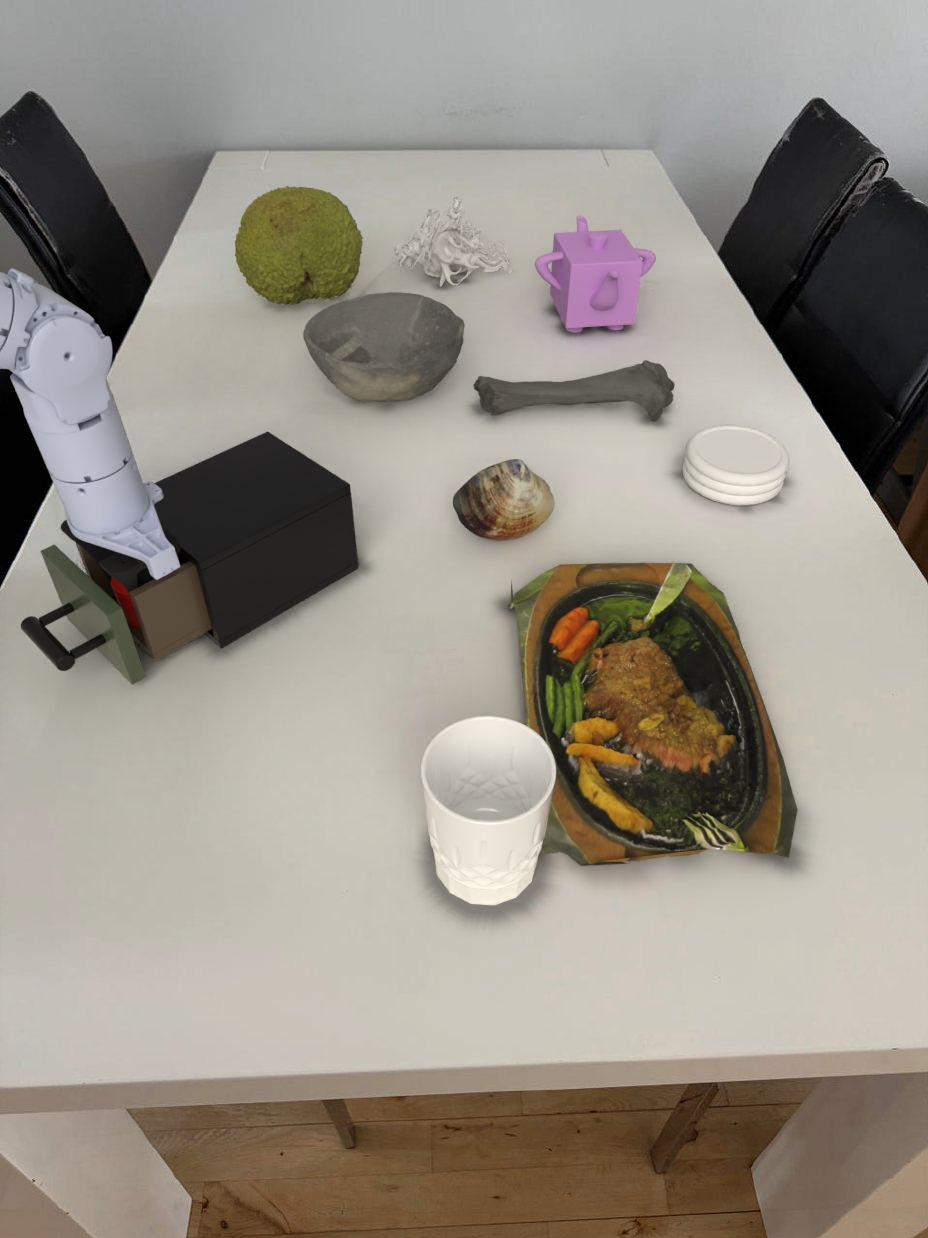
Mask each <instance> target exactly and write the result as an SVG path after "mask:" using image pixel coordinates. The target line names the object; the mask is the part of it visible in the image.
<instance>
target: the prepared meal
mask: <svg viewBox="0 0 928 1238" xmlns="http://www.w3.org/2000/svg"><path fill="white" fill-rule="evenodd" d="M507 607H508V608H509V609H513V608H514V609H515V614H516V624H517V634H518V645H519V648H518V649H519V650H518V655H519V664H520V670H521V677H522V685H523V686H522V687H523V696H524V697H523V699H524V713H525V724H526V726H528V727H529V728H531V729H532V730H534V731H535V732H536V733H537V734H539V735H540V736H541V737H542V738H543V739H544V741H545V742H546V743H547V745H548V746H549V748H550V749H551V751H552V754H553V756H554V759H555V764H556V779H555V784H554V789H553V795H552V800H551V805H550V810H549V816H548V821H547V826H546V831H545V836H544V839H543V844H542V853H543V855H548V854H554V853H555V854H556V853H562V854H565V855H567V856H569V857H570V859H572V860H573V861H574V862H575V863H577V864H578V865H579V866H581V867H586V866H587V867H588V866H609V865H628V864H630V863H632V862H639V861H645V860H651V859H657V858H659V859H660V858H664V857H689V856H693V855H698V854H700V853H702V852H704V851H708V850H719V851H720V850H721V851H731V852H732V851H733V852H742V853H743V852H744V853H754V854H755V853H756V854H773V855H778V856H781V857H784V858H788V859H789V858H790V853H791V848H792V842H793V837H794V831H795V826H796V821H797V815H798V807H797V804H796V799H795V796H794V791H793V788H792V785H791V781H790V778H789V775H788V771H787V767H786V763H785V760H784V757H783V754H782V751H781V747H780V745H779V742H778V740H777V736H776V734H775V731H774V728H773V725H772V723H771V719H770V717H769V714H768V710H767V708H766V704H765V702H764V699H763V697H762V693H761V691H760V689H759V685H758V683H757V680H756V677H755V675H754V672H753V669H752V667H751V664H750V661H749V658H748V656H747V653H746V651H745V648H744V646H743V644H742V640H741V636H740V632H739V630H738V627H737V625H736V622H735V619H734V617H733V613H732V612H731V609H730V606H729V603H728V601H727V599H726V596H725V593H724V591H722V590H721V589H720V588H718V587H717V586H716V585H715V584H713V583H712V582H710V581H709V580H708V579H707V578H706V577H705V576H703V574H702V573H701V572H700V570H698V569H697V568H696V566H695V565H694V564H693V563H689V562H688V563H687V562H605V563H604V562H601V563H597V562H596V563H565V564H564V563H562V564H558V565H556V566H554V567H552V568H550V569H548V570H546V571H544V572H543V573H541V574H540V575H538V576H536V577H535V578H534V579H532V580H530V581H529V583H527V584H525V585H524V586H523V587H521V588H520V589H519V590H517V592H515V593H514V590H513V580H512V578H511V581H510V602H509V603H507ZM627 862H628V863H627Z"/></svg>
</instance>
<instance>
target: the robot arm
mask: <svg viewBox="0 0 928 1238" xmlns="http://www.w3.org/2000/svg"><path fill="white" fill-rule="evenodd" d="M112 361H113V342H112V339H111V337H110V336H109V335H105V334H104V333H103V331H102V329H101V326H100V325H99V324H98V323H96V321H95V319H94V317H93V316H91V315H90V314H89V313H87V312H86V311H85V310H83V309H82V308H80V307H78V306H77V305H75V304H73V303H72V302H71V301H69V300H68V299H66V298H64V297H63V296H61V295H60V294H58V293H57V292H55V291H53V290H52V289H50V288H48V287H46V286H45V285H42V284H39V283H38V282H37V281H36V280H35V279H34V277H32V276H30V275H28V274H27V273H25V272H22V271H19V270H18V269H15V268H10V269H9V270H8V273H4V272H2V271H0V370H9V371H10V372H12V373H11V374H10V377H9V378H10V380H11V383H12V385H13V388H14V389H15V392H16V395H17V397H18V399H19V401H20V404H21V406H22V408H23V409H22V410H23V414H24V417H25V419H26V422H27V424H28V427H29V429H30V431H31V433H32V436H33V438H34V441H35V443H36V445H37V447H38V450H39V452H40V454H41V457H42V459H43V462H44V464H45V466H46V469H47V470H48V471H47V472H48V473H49V475H50V478H51V480H52V482H53V485H54V487H55V490H56V492H57V494H58V497H59V499H60V502H61V504H62V507H63V510H64V515H65V519H64V520H63V521H62V522H61V524H60V530H61V532H62V533H63V534H65V536H67V538H69V539H70V540H71V541H73V542H74V543H75V544H76V543H77V544H79V545H80V546H81V547H83V549H84V550H85V551H86V552H87V553H88V554H89V555H90V556H91V558H92V559H93V560H94V562H95V563H96V564H97V566H98V567H99V568H100V570H101V571H102V573H103V574H104V575H105V577H106V578H107V580H108V581H109V582H110V583H111V579H112V577H113V578H114V579H116V580H117V581H118V582H120V583H121V584H122V585H123V586H124V587H125V589H126V590H127V591H128V593H129V592H130V591H132V590H134V589H136V588H138V587H140V586H142V585H144V584H146V583H148V582H150V581H151V580H153V579H156V580H158V579H160V578H161V577H163V576H166V575H167V574H169V573H171V572H173V571H174V570H176V569H177V568H179V567H180V563H179V560H178V557H177V556H178V554H179V552H180V550H181V547H180V542H179V540H178V538H177V537H175V536H174V535H173V534H172V533H171V532H169V531H166V532H164V533H163V530H162V527H161V524H160V521H159V519H158V516H157V513H156V510H155V507H154V505H155V503H157V502H158V501H160V500H162V499H163V497H164V495H163V492H162V490H161V488H160V487H158V486H157V485H156V484H154V483H155V482H153V481H143V479H142V475H141V473H140V469H139V466H138V463H137V461H136V459H135V456H134V455H135V454H134V453H133V449H132V446H131V443H130V439H129V438H128V434H127V432H126V429H125V425H124V422H123V420H122V416H121V414H120V410H119V408H118V405H117V402H116V400H115V396H114V393H113V392H112V390H111V387H110V384H109V381H108V379H107V378H108V374H109V371H110V369H111V365H112ZM129 594H130V593H129Z"/></svg>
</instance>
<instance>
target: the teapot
mask: <svg viewBox="0 0 928 1238" xmlns="http://www.w3.org/2000/svg"><path fill="white" fill-rule="evenodd" d="M588 226H589V225H588V221H587V219H586V217H585V216H584V215H577V216H576V231H566V232H565V231H563V232H554V233H553V241H552V252H548V253H544V254H541V255H539V256H537V258H536V259H535V261H534V268H535V270H536V272H537V274H538V275H539V276H540V277H541V278H542V279H543V280H544V281H545V282H546V283H548V285H549V295H550V297H551V299H552V301H553V304H554V306H555V308H556V311H557V312H558V314H559V317H560V319H561V321H562V323H563V325H564V328H565V330H566V331H567V332H569V333H573V334H575V333H576V334H577V333H581V332H582V331H583V330H584V328H591V327H592V328H593V327H606V328H607V329H608V330H611V331H620V330H622V329H624V326H627V325H635V322H636V314H637V308H638V301H639V293H640V285H641V279H642V278H643V277H644V276H645V275H646V274H647V273H648V272H649V271H650V270H651V269H652V268H653V267H654V265H655V263H656V260H657V255H656V254H655V253H654V251H652V250H649V249H647V248H639V247H638V248H637V247H634V246H633V245H632V243H631V242H630V240H629V239H628V238H627V236H626V235H625V233H624V232H623V231H622V230H621V229H610V230H589V227H588ZM550 263H551V268H549V264H550ZM550 269H551V270H550Z"/></svg>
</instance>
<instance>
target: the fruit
mask: <svg viewBox="0 0 928 1238" xmlns="http://www.w3.org/2000/svg"><path fill="white" fill-rule="evenodd" d="M363 239H364V237H363V236H362V232H361V230H359V228H358V223H356V219H354V217H353V215H352V213H351V212H350V210H349V208H348V205H346V204H345V203H344V202H343V201H342V200H340V199H339V198H338V197H337V196H336V195H334V194H332V193H331V192H330V191H325V190H323V189H319V188H314V187H306V186H297V187H296V186H291V187H290V186H289V185H286V186H285V187H277V188H274V189H271V190H270V191H267V192H265V193H263V194H262V195H261V196H257V197H256V198H255V199H254V200H253V201H252V202H251V203H250V204H249V205H248V206H247V207H246V208H245V210H244V213H243V214H242V216H241V218H240V226H239V227H238V231H237V233H236V234H235V241H234V249H235V250H234V251H235V254H234V257H235V258H236V259H235V263H236V265H237V267H238V269H239V272H240V273H241V274H242V277H244V278H245V283H246V284H247V285H248V286H249V287H251V288H252V289H253V290H254V292H256V294H258V295H259V296H261V297H262V298H264V299H266V301H268V302H269V303H273V304H275V303H276V304H277V305H282V304H284V305H290V306H292V305H297V304H300V303H301V302H303V301H305V300H313V299H315V300H317V299H318V300H319V298H320V299H322V301H325V300H327V299H333V298H335V297H339V298H340V297H342V295H343V294H346V293H347V292H348V289H350V288H352V286H353V285H352V284H354V283H355V280H356V278H357V276H358V274H359V272H360V266H361V260H360V259H361V255H362V253H363V252H362V247H363V245H364V244H363Z"/></svg>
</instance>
